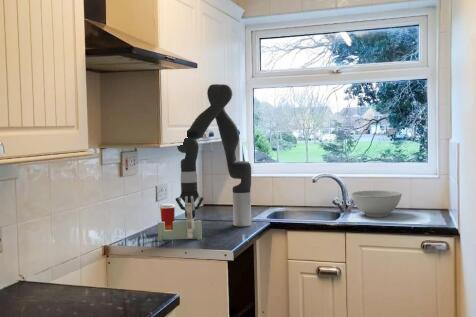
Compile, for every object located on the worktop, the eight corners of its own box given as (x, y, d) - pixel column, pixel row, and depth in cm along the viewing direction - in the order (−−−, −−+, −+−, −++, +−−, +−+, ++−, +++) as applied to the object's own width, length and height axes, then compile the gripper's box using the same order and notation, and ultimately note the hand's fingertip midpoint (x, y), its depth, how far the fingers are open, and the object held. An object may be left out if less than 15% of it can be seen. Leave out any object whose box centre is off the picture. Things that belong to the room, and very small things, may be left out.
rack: (159, 237, 243) (158, 220, 243) (202, 236, 244) (201, 219, 244) (157, 241, 235) (156, 223, 235) (201, 239, 236) (200, 222, 236)
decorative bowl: (410, 214, 287) (410, 192, 286) (387, 221, 268) (386, 198, 267) (367, 209, 306) (366, 189, 305) (342, 216, 286) (342, 194, 286)
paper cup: (170, 230, 260) (169, 202, 259) (179, 232, 254) (178, 204, 253) (157, 232, 255) (156, 204, 254) (165, 235, 249) (164, 206, 248)
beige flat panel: (189, 230, 248) (188, 199, 247) (194, 230, 248) (192, 199, 247) (187, 238, 232) (186, 204, 231) (192, 237, 232) (190, 204, 231)
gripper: (204, 179, 242) (205, 216, 243) (174, 180, 242) (176, 217, 243) (203, 181, 235) (204, 219, 236) (173, 182, 234) (174, 220, 235)
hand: (190, 218), depth 239 cm, fingers closed on beige flat panel, 2 cm apart
